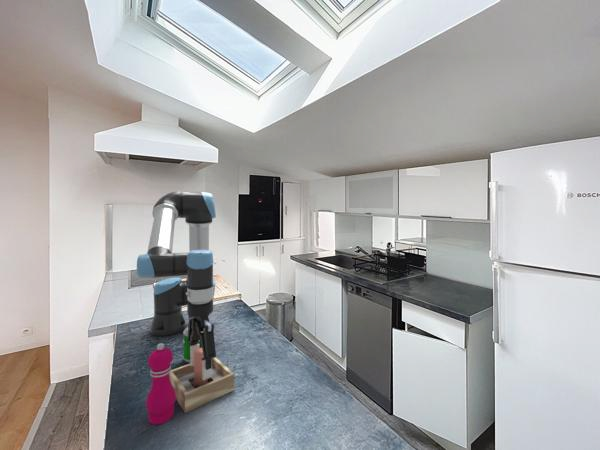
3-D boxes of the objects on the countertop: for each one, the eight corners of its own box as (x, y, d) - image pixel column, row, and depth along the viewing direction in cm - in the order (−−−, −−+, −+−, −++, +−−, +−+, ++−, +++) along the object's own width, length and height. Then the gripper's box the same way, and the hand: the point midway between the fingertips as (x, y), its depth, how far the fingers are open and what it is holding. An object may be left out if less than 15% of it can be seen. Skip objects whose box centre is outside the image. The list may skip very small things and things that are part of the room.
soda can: (209, 355, 105) (208, 325, 105) (195, 366, 98) (195, 333, 98) (193, 352, 108) (192, 322, 107) (178, 362, 101) (178, 330, 100)
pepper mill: (153, 407, 77) (152, 337, 77) (179, 405, 78) (179, 337, 77) (140, 427, 70) (139, 350, 69) (170, 425, 71) (169, 349, 70)
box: (168, 386, 86) (167, 371, 86) (213, 368, 96) (213, 355, 96) (185, 412, 75) (185, 395, 75) (234, 389, 85) (234, 374, 85)
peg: (192, 387, 86) (191, 350, 85) (204, 382, 89) (204, 346, 88) (197, 394, 83) (197, 355, 83) (210, 388, 86) (209, 351, 85)
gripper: (176, 294, 90) (176, 361, 91) (202, 313, 74) (203, 393, 75) (198, 290, 95) (199, 353, 96) (228, 307, 79) (228, 382, 80)
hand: (200, 371), depth 86 cm, fingers open, 9 cm apart
